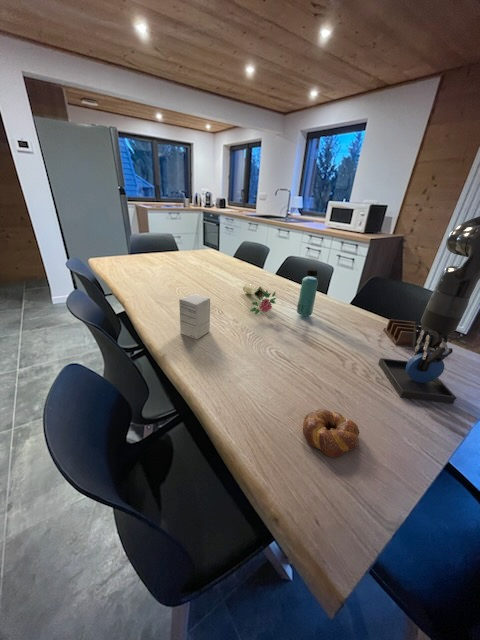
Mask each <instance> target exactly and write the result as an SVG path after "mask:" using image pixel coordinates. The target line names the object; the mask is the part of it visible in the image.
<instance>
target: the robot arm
mask: <svg viewBox="0 0 480 640" xmlns="http://www.w3.org/2000/svg"><path fill="white" fill-rule="evenodd" d="M445 245H446V248H447V251H449V253H452V254H453V255H454V254H455V255H456V256H460V257H465V258H467V259H466V260H465V261H464V262H463V263H462V264H461V265H458V266H457V265H451V266H447V267H445V268H444V269H443V271H442V273H441V274H440V276H439V279H438V282H437V283H436V286H435V288H434V291H433V292H432V294H431V295H430V297H429V299H428V302H427V305H426V307H425V309H424V312H423V314H422V316H421V319H420V324H421V325H420V324H419V325H417V324H415V326H414V335H413V346H414V347H413V348H414V351H415V353H414V355H413V357H414V356H415V355H417V354H420V353H424V354H423V357H422V359H421V361H420V363H419V365H418V368H417V369H418V370H419V371H421V372H426V371H427V370H428V369H429V367H430V365H431V362H435V363H439V362H441V361H442V360H443V361H444V360H445V359H446V358H447V357H448V356H450V355H451V354H453V352H454V350H453V348H452V347H449V346H448V344H447V343H448V341H449V336H450V335H451V334H452V333H455V332H456V331H457V329H458V327H459V325H460V323H461V320H462V319H463V317H464V315H465V313H466V310H467V308H468V306H469V303H470V300H471V297H472V296H473V294H474V292H475V289H476V287H477V285H478V283H479V281H480V215H479V216H476V217H474V218H471V219H468V220H466V221H464V222H462V223H460V224H459V225H457V226H456V227H454V228H453V230H452V231H450V233H449V234H448V235H447V238H446V242H445ZM419 333H420V334H419ZM418 338H419V339H418ZM417 339H418V340H417ZM429 353H432V354H431V355H430V356H428V355H429Z"/></svg>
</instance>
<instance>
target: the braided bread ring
mask: <svg viewBox="0 0 480 640" xmlns="http://www.w3.org/2000/svg"><path fill="white" fill-rule="evenodd" d="M302 422H303V423H302V434H303V437H304V439H305V440H306V442H307V443H308V444H309V445H311V446H312V447H314V448H317V449H318V450H320V451H321V452H322V453H323V454H324V455H326V456H328V457H331V458H337V457H340V456H342V455H343V454H344V453H346V452H348V451H349V450H351V451H353V450H355V449H356V448H357V447H358V444H359V436H360V434H361V433H360V432H361V431H360V429H359V427H358V425H357V423H356V422H354V421H353V420H351V419H349V418H345V417H344V416H343V415H342V414H341V413H339V412H336V411H331V410H329V409H325V408H320V409H317V410H315V411H311V412H310V413H308V414H306V415H305V417H304V419H303V421H302Z"/></svg>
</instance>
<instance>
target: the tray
mask: <svg viewBox="0 0 480 640" xmlns="http://www.w3.org/2000/svg"><path fill="white" fill-rule="evenodd" d="M408 361H409V360H401V359H400V360H399V359H391V358H382V357H380V358H379V360H378V365H379V367H380V369H381V370H382V372H383V373H384V375H385V376H386V378H387V379H388V381H389V383H390V384H391V385H392V387H393V388H394V390H395V392H396V393H397V394H398V396H399V397H400V398H402V399H410V400H419V401H426V402H434V403H435V402H436V403H443V404H451V405H453V404H454V403H455V401H456V400H457V396H456V395H455V394H454V393H453V392H452V391H451V390H450V389H449V388H448V387H447V386H446V385H445V384H444V383H443V382H442V380H441V379H440V378H439V377H438V378H437V379H435V380H433V381H430V382H426V383H420V382H416V381H414V380H412V379H411V378H410V377H409V376H408V374H407V372H406V365H407V363H408Z"/></svg>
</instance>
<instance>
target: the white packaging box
mask: <svg viewBox="0 0 480 640" xmlns="http://www.w3.org/2000/svg"><path fill="white" fill-rule="evenodd" d="M178 302H179V303H178V304H179V305H178V306H179V329H180V330H179V333H180V334H182V335H185V336H186V337H189V338H192V339H194V340H198V339H200V338H201V337H203V336H205V335H206V334H207V333H209V332H210V328H211V327H210V326H211V298H210V297H208V296H204V295H201V294H198V293H194V292H192V293H191V294H189V295H186V296H184V297H181V298H179V300H178Z"/></svg>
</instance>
